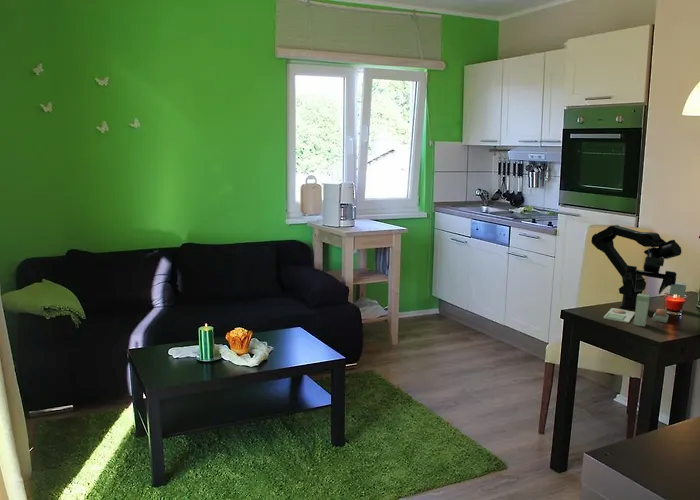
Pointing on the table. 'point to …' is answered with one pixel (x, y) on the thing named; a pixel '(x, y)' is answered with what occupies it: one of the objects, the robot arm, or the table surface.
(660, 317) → the button housing
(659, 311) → the button
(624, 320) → the picture board
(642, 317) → the pale green tall box
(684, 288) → the skincare box
